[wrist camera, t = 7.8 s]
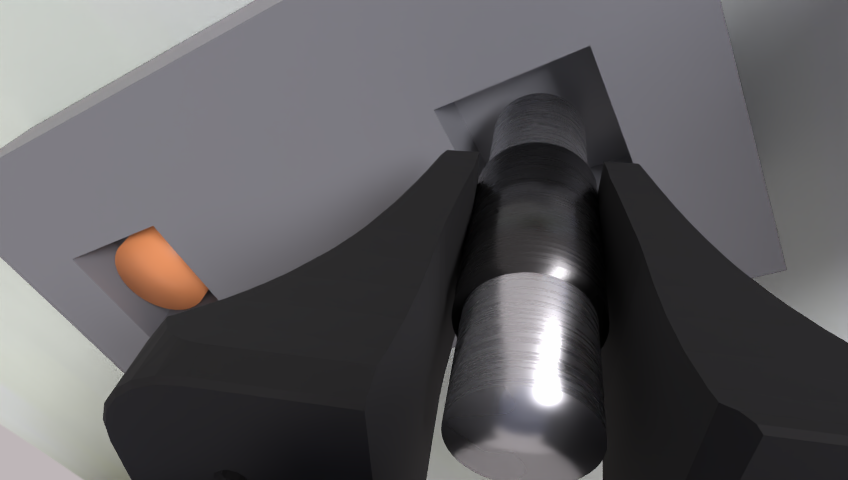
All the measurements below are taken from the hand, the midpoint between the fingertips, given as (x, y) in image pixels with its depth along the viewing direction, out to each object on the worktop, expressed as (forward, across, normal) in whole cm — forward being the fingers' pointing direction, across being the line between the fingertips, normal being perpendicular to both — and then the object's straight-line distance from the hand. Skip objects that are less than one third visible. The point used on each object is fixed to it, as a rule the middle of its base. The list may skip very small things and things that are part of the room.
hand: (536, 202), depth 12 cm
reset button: (+6, +11, +5) cm, 13 cm away
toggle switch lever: (+3, 0, 0) cm, 3 cm away
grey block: (+6, +5, +3) cm, 9 cm away
